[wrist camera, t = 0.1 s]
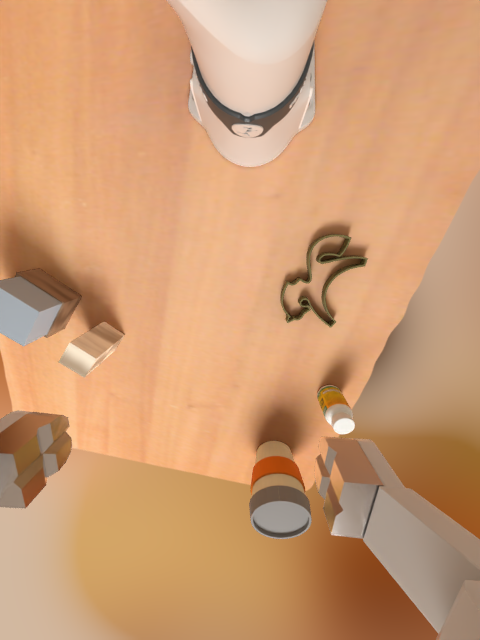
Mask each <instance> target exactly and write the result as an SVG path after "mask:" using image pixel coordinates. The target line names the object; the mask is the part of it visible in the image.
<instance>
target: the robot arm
mask: <svg viewBox="0 0 480 640" xmlns="http://www.w3.org/2000/svg"><path fill="white" fill-rule="evenodd" d="M166 1H167V2H168V3H169V4H170V6H171V7H172V8H173V9H174V11H175V12H176V14H177V15H178V16H179V18H180V20H181V22H182V24H183V26H184V29H185V31H186V33H187V36H188V39H189V41H190V44H191V53H190V62H191V65H193V66H194V68H193V74H192V78H191V79H190V86H191V88H190V94H189V101H188V107H189V111H190V113H191V115H192V117H193V118H194V119H195V120H196V121H197V122H198V123H200V124H201V125H202V126H203V127H204V128H205V130H206V131H207V133H208V135H209V137H210V139H211V141H212V143H213V145H214V146H215V148H216V149H217V150H218V151H219V153H220V154H221V155H222V156H224V157H225V158H226V159H227V160H229V161H231V162H232V163H235V164H237V165H240V166H246V167H255V166H260V165H263V164H266V163H268V162H270V161H272V160H273V159H275V158H276V157H277V156H279V155H280V154H281V153H282V152H283V151H284V149H285V148H286V147H287V145H288V144H289V143H290V141H291V140H292V138H293V137H294V136H295V135H296V134H297V133H298V132H300V131H301V130H303V129H304V128H306V127H307V126H308V125H309V124H310V123H311V122H312V121H313V118H314V115H315V45H314V39H315V36H316V33H317V30H318V27H319V24H320V21H321V18H322V15H323V12H324V9H325V6H326V3H327V0H166ZM308 105H309V106H308ZM68 428H69V421H68V417H66V416H64V415H56V414H47V413H38V412H26V411H15V412H11V413H9V414H8V415H6V416H4V417H3V418H1V419H0V507H9V508H26V507H27V506H28V505H29V504H30V503H31V502H32V501H33V499H34V498H35V497H36V496H37V495H38V494H39V493H40V491H41V490H42V489H43V488H44V487H45V486H46V483H47V477H49V476H51V475H52V474H54V473H56V472H58V471H59V470H60V469H61V467H62V466H63V465H64V464H65V463H66V461H67V459H68V457H69V455H70V453H71V447H72V440H71V437H70V436H69V435H68V434H67V433H66V430H67V429H68ZM318 448H319V450H320V453H321V454H320V455H319V456H318V457H317V458H316V461H315V481H316V486H317V489H318V493H319V494H320V495H321V496H322V497H323V498H324V499H325V503H324V507H323V509H324V513H325V516H326V519H327V522H328V526H329V529H330V532H331V535H338V536H346V537H354V538H363V541H364V542H365V543H366V545H367V546H368V547H369V548H370V550H371V551H372V552H373V553H374V555H375V556H376V557H377V558H378V559H379V561H380V562H381V563H382V564H383V566H384V567H385V568H386V569H387V570H388V572H389V573H390V574H391V575H392V577H393V578H394V579H395V580H396V582H397V583H398V584H399V585H400V587H401V588H402V589H403V590H404V592H405V593H406V594H407V595H408V596H409V598H410V599H411V600H412V601H413V603H414V604H415V605H416V606H417V608H418V609H419V610H420V611H421V613H422V614H423V615H424V616H425V617H426V619H427V620H428V621H429V622H430V624H431V625H432V626H433V627H434V629H435V630H436V631H437V632H438V636H437V638H436V640H480V539H478V538H477V537H476V536H474V535H473V534H472V533H470V532H469V531H467V530H466V529H465V528H463V527H462V526H461V525H459V524H458V523H456V522H455V521H454V520H453V519H451V518H450V517H448V516H447V515H446V514H444V513H443V512H442V511H440V510H439V509H437V508H436V507H435V506H433V505H432V504H431V503H429V502H428V501H427V500H425V499H424V498H423V497H421V496H420V495H419V494H417V493H416V492H414V491H413V490H412V489H407V488H405V487H404V486H403V484H402V483H401V481H400V480H399V478H398V477H397V475H396V474H395V472H394V471H393V470H392V468H391V467H390V465H389V464H388V462H387V461H386V460H385V458H384V456H383V455H382V454H381V452H380V451H379V449H378V448H377V446H376V445H375V443H374V442H372V441H371V440H370V439H349V438H335V437H321V439H320V441H319V445H318Z"/></svg>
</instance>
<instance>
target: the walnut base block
mask: <svg viewBox="0 0 480 640" xmlns="http://www.w3.org/2000/svg"><path fill="white" fill-rule="evenodd" d="M19 276H20V277H22V278H23V279H25V280H27V281H28V282H30V283H31V284H33V285H35V286H36V287H38V288H39V289H41V290H42V291H44V292H46V293H47V294H49V295H50V296H52V297H53V298H55V299H57V300H58V301H60V302H61V303H62V305H61V307H60V309H59V311H58V313H57V315H56V317H55V319H54V321H53V323H52V325H51V327H50V329H49V331H48V333H47V335H45V337H46V338H47V337H49V336H51V335H53V334H55V333H57V332H59V331H61V330H63V329H65V327H66V325H67V323H68V321H69V320H70V318H71V316H72V314H73V312H74V310H75V308H76V306H77V305H78V303H79V301H80V299H81V297H82V296H81V295H79V294H78V293H76V292H75V291H73V290H72V289H70V288H69V287H67V286H65V285H64V284H62V283H61V282H59V281H58V280H56V279H55V278H53V277H52V276H50V275H49V274H47V273H46V272H44V271H43V270H41V269H40V268H39V269H33V270H28V271H22V272H17V273H16V276H15V277H19Z"/></svg>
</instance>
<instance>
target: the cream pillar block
mask: <svg viewBox="0 0 480 640" xmlns="http://www.w3.org/2000/svg"><path fill="white" fill-rule="evenodd" d="M124 336H125V335H124V334H123V333H121V332H120V331H118V330H117V329H115V328H114V327H112V326H111V325H109V324H108V323H106V322H105V321H104V322H102V323H100V324H99V325H97V326H96V327H94V328H92V329H91V330H89V331H87V332H86V333H84V334H83V335H81V336H79V337H78V338H76V339H75V340H73V341H71V342H70V343H69V345H68V346H67V348H66V350H65V352H64V354H63V355H62V357H61V359H60V361H59V363H61V364H62V365H64V366H66V367H67V368H69V369H71V370H72V371H74V372H76V373H78V374H79V375H81V376H83V377H84V378H85V377H86V376H87V375H88V374H89V373H90V372H91V371H93V370H94V369H95V368H96V367H97V366H98V365H99V364H100V363H102V362H103V361H104V360H105V359H106V358H107V357H108V356H109V355H111V354H112V353H113V352H114V351H115V349H116V348H117V346H118V345H119V343H120V342H121V340H122V339H123V337H124Z"/></svg>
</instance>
